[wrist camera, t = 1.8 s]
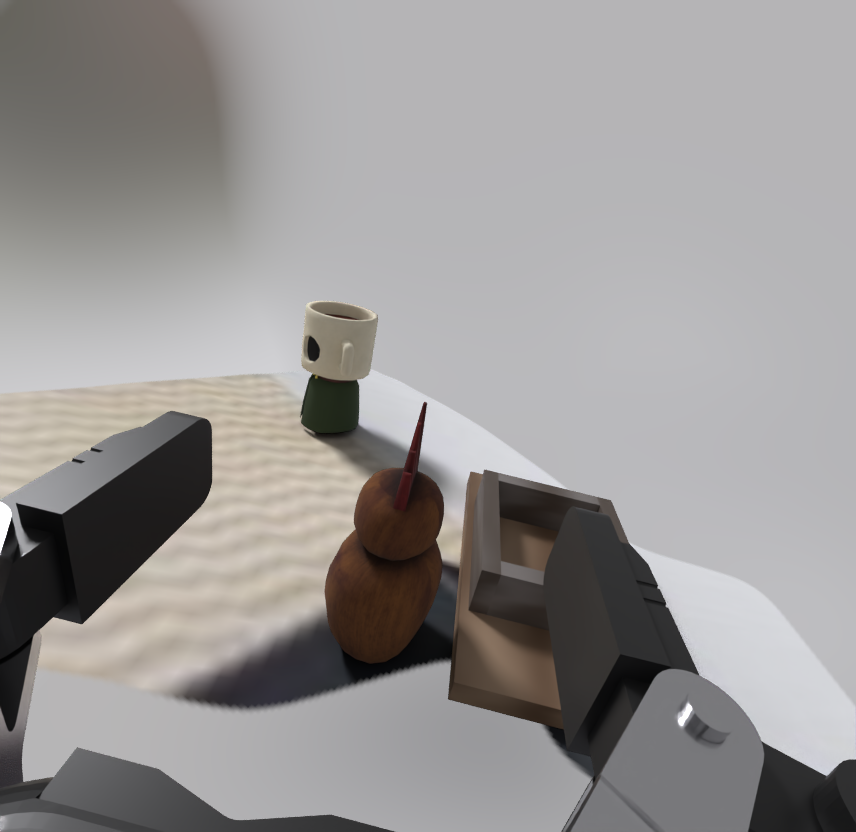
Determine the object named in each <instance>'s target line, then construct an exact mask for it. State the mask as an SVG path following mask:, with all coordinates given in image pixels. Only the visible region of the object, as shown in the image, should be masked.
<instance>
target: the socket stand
mask: <svg viewBox="0 0 856 832" xmlns="http://www.w3.org/2000/svg"><path fill="white" fill-rule="evenodd" d="M571 507H577V508H582V509H586V510H590V511H594V512H599V513H603V514H607V515H609V517H610V518H611V520H612V523H613V525H614V528H615V530H616V533H617V535H618V537H619V540H620V542H622V543H627V544H629V542H628V540H627V537H626V535H625V533H624V530H623V528H622V525H621V523H620V521H619V518H618V516H617V514H616V511H615V509H614V506H613V504H612V502H611V500H607V499H603V498H599V497H595V496H590V495H586V494H583V493H578V492H574V491H570V490H566V489H562V488H558V487H554V486H550V485H546V484H542V483H537V482H533V481H529V480H525V479H521V478H517V477H513V476H509V475H505V474H501V473H497V472H492V471H488V470H484V473H483V474H479V473H475V472H470V476H469V479H468V483H467V491H466V503H465V514H464V525H463V536H462V548H461V559H460V570H459V582H458V593H457V604H456V615H455V627H454V638H453V649H452V661H451V672H450V683H449V694H448V695H449V696H448V699H449V700H453V701H456V702H460V703H464V704H468V705H472V706H476V707H480V708H483V709H487V710H491V711H495V712H499V713H502V714H506V715H510V716H514V717H518V718H521V719H525V720H529V721H533V722H537V723H541V724H544V725H548V726H552V727H556V728H560V729H563V730H564V727H563V720H562V713H561V706H560V700H559V693H558V686H557V679H556V672H555V665H554V659H553V652H552V645H551V638H550V631H549V625H548V618H547V611H546V604H545V597H544V590H543V580H544V572H545V567H546V563H547V560H548V558H549V555H550V553H551V550H552V548H553V545H554V543H555V540H556V538H557V535H558V533H559V530H560V528H561V525H562V523H563V520H564V518H565V515H566V513H567V511H568V510H569V509H570V508H571Z"/></svg>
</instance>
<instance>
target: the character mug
mask: <svg viewBox="0 0 856 832" xmlns="http://www.w3.org/2000/svg"><path fill="white" fill-rule="evenodd" d="M377 322H378V315H377V314H375V313H374V312H373V311H371V310H368V309H366V308H363V307H360V306H356V305H352V304H348V303H342V302H333V301H314V302H310V303H308V304H307V305H306V312H305V323H304V324H305V325H304V333H303V342H302V360H301V361H302V366H303V368H305V369H306V370H307V371H309V372H311V373H313V374H312V375H311V377H310V378H309V381H308V385H307V388H306V392H305V396H304V400H303V405H302V410H301V415H302V414H303V415H302V420H301V423H302V424H303V425H304V426H305V427H307V428H308V429H310V430H313V431H316V432H319V433H336V432H346V431H349V430H352V429H355V428H356V427H357V425H358V420H359V385H358V382H357V380H358V379H363V378H365V377H366V376H367V375H369V372H370V367H371V361H372V355H373V348H374V342H375V336H376V335H375V334H376V329H377ZM301 415H300V418H301Z"/></svg>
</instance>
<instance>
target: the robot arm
mask: <svg viewBox="0 0 856 832" xmlns="http://www.w3.org/2000/svg"><path fill="white" fill-rule="evenodd" d="M211 484H212V428H211V424H210V422H209V421H208V420H207V419H205V418H200V417H196V416H192V415H188V414H183V413H179V412H175V411H170V412H167V413H165V414H164V415H162V416H160V417H159V418H157V419H155V420H154V421H152V422H150V423H149V424H147V425H145V426H144V427H138V428H135V429H132V430H128V431H125V432H122V433H118V434H115V435H112V436H111V437H109V438H107V439H105V440H104V441H102V442H100V443H98V444H97V445H95V446H93V447H91V450H90V451H88V450H86V451H84V452H83V453H81V454H79V455H77V456H76V457H74V458H73V460H72V461H71V462H70V461H67V462H65V463H64V464H62V465H60V466H58V467H57V468H55V469H53V470H51V471H50V472H48V473H46V474H44V475H43V476H41V477H39V478H37V479H36V480H34V481H32V482H30V483H29V484H27V485H25V486H23V487H22V488H20V489H18V490H16V491H15V492H13V493H11V494H9V495H8V496H6V497H4V498H2V499H1V500H0V832H394V831H390V830H387V829H383V828H379V827H375V826H371V825H368V824H364V823H360V822H356V821H353V820H349V819H345V818H341V817H338V816H334V815H319V816H305V817H288V818H273V819H258V820H233V819H229V818H227V817H226V816H224V815H222V814H221V813H220V812H218V811H217V810H215V809H214V808H213V807H211V806H210V805H208V804H207V803H205V802H204V801H202V800H201V799H200V798H198V797H197V796H196V795H194V794H193V793H191V792H190V791H189V790H187V789H186V788H184V787H183V786H182V785H180V784H179V783H177V782H176V781H174V780H173V779H172V778H170V777H169V776H168V775H166V774H165V773H163V772H162V771H161V770H159V769H156V768H152V767H149V766H145V765H141V764H137V763H133V762H130V761H126V760H122V759H118V758H115V757H111V756H107V755H103V754H99V753H96V752H92V751H88V750H85V749H81V748H76V750H75V751H74V752H73V754H72V755H71V756H70V757H69V759H68V760H67V761H66V762H65V764H64V765H63V766H62V767H61V769H60V770H59V771H58V773H57V774H56V775H55V777H51V778H44V779H39V780H33V781H27V782H23V773H22V749H23V741H24V734H25V730H26V724H27V719H28V713H29V708H30V702H31V696H32V691H33V686H34V680H35V675H36V669H37V664H38V658H39V653H40V647H41V634H40V629H41V628H42V627H43V626H44V625H45V624H46V623H47V622H48V621H50V620H51V619H52V618H53V617H55V618H59V619H63V620H67V621H71V622H75V623H79V624H83V623H84V622H85V621H86V620H87V619H88V618H89V617H90V616H91V615H92V614H93V613H94V612H95V611H96V610H97V609H98V608H99V607H100V606H101V605H102V604H103V603H104V602H105V601H106V600H107V599H108V598H109V597H110V596H111V595H112V594H113V593H114V592H115V591H116V590H117V589H118V588H119V587H120V586H121V585H122V584H123V583H124V582H125V581H126V580H127V579H128V578H129V577H130V576H131V575H132V574H133V573H134V572H135V571H136V570H137V569H138V568H139V567H140V566H141V565H142V564H143V563H144V562H145V561H146V560H147V559H148V558H149V557H150V556H151V555H152V554H153V553H154V552H155V551H156V550H158V549H159V548H160V547H161V546H162V545H163V544H164V543H165V542H166V541H167V540H168V539H169V538H170V537H171V536H172V535H173V534H174V533H175V532H176V531H177V530H178V529H179V528H180V527H181V526H182V525H183V524H184V523H185V522H186V521H187V520H188V519H189V518H190V517H191V516H192V515H193V514H194V513H195V512H196V511H197V510H198V509H199V508H200V507H201V506H202V504H203V503H204V502H205V500H206V498H207V496H208V494H209V491H210V488H211ZM657 586H658V585H657V582H656V580H655V578H654V576H653V574H652V572H651V569H650V567H649V565H648V564H647V563H646V561H645V560H644V559H643V558H642V557H641V556H640V555H639V554H638V553H637V552H636V550H635V549H634V548H633V547H632V546H631V545H630V544H627V543H622V542H620V540H619V537H618V535H617V533H616V530H615V528H614V525H613V523H612V520H611V518H610V517H609V515H607V514H603V513H599V512H594V511H590V510H586V509H582V508H577V507H571V508H570V509H569V510H568V511H567V513H566V515H565V518H564V520H563V523H562V525H561V528H560V530H559V533H558V535H557V538H556V540H555V543H554V545H553V548H552V550H551V553H550V555H549V558H548V560H547V563H546V567H545V572H544V580H543V590H544V597H545V604H546V611H547V618H548V625H549V631H550V638H551V645H552V652H553V659H554V665H555V672H556V679H557V686H558V693H559V700H560V706H561V713H562V720H563V727H564V734H565V740H566V747H567V751H571V752H575V753H579V754H583V755H587V756H591V759H592V764H593V770H594V777H593V778H592V780H591V781H590V783H589V785H588V786H587V788H586V790H585V792H584V793H583V795H582V797H581V799H580V800H579V802H578V804H577V806H576V808H575V809H574V811H573V812H572V814H571V816H570V818H569V819H568V821H567V823H566V825H565V826H564V828H563V830H562V832H856V760H846V761H843V762H842V763H840V764H839V765H838V766H837V767H836V768H835V769H834V770H833V771H832V772H831V773H830V774H829V775H828V776H825V775H823V774H821V773H819V772H818V771H816V770H814V769H812V768H810V767H808V766H806V765H804V764H802V763H801V762H799V761H797V760H795V759H793V758H791V757H789V756H787V755H785V754H784V753H782V752H780V751H778V750H776V749H774V748H772V747H770V746H769V745H767V744H765V743H763V742H762V741H761V739H760V736H759V734H758V732H757V730H756V728H755V726H754V725H753V723H752V722H751V720H750V719H749V717H748V716H747V715H746V713H745V712H744V711H743V710H742V708H741V707H740V706H739V705H738V704H737V703H736V702H735V701H734V700H733V699H732V698H731V697H730V696H729V695H728V694H726V693H725V692H724V691H723V690H721V689H720V688H719V687H718V686H716V685H715V684H713V683H711V682H710V681H708V680H707V679H705V678H703V677H701V676H699V673H698V671H697V669H696V667H695V665H694V663H693V660H692V658H691V656H690V654H689V652H688V650H687V647H686V645H685V643H684V641H683V639H682V637H681V634H680V632H679V630H678V628H677V626H676V624H675V621H674V619H673V617H672V615H671V613H670V611H669V608H667V607H666V602H665V600H664V598H663V595H662V593H661V591H660V590H659V589H657Z"/></svg>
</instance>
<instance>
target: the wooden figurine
mask: <svg viewBox="0 0 856 832" xmlns="http://www.w3.org/2000/svg"><path fill="white" fill-rule="evenodd" d="M426 407H427V403H426V402H424V403H423V406H422V410H421V413H420V416H419V420H418V423H417V427H416V430H415V433H414V437H413V440H412V443H411V447H410V450H409V453H408V457H407V460H406V463H405V467H404V468H389V469H384V470H381V471H379V472H377V473H375V474H374V475H373V476H372V477H371V478H370V479H369V480H368V481H367V482H366V483H365V484H364V486H363V488H362V490H361V492H360V494H359V497H358V500H357V504H356V508H355V513H354V525H355V528H356V529H355V530H354V531H353V532H352V533H351V534H350V535H349V536H348V537H347V539H346V540H345V541H344V542H343V543H342V545H341V547H340V549H339V551H338V553H337V555H336V556H335V558H334V560H333V562H332V563H331V565H330V567H329V571H328V574H327V578H326V585H325V599H326V608H327V617H328V623H329V626H330V630H331V632H332V634H333V635H334V637H335V639H336V640H337V642H338V643H339V645H340V646H341V648H342V649H343V651H344V652H346V653H347V654H349V655H350V656H352V657H353V658H355V659H357V660H360V661H363V662H367V663H370V664H372V663H380V662H386V661H388V660H389V659H391V658H393V657H395V656H396V655H398V654H399V653H400V652H401V651H402V650H403V649H404V648H405V647H406V646H407V645H408V644H409V642H410V641H411V640H412V638H413V637H414V635H415V634H416V632H417V631H418V630H419V628H420V626H421V625H422V623H423V621H424V620H425V618H426V616H427V614H428V612H429V610H430V608H431V606H432V604H433V601H434V598H435V595H436V593H437V590H438V586H439V583H440V580H441V574H442V559H441V554H440V550H439V547H438V544H437V542H436V538H437V536H438V534H439V532H440V529H441V526H442V521H443V516H444V502H443V496H442V493H441V491H440V489H439V487H438V486H437V484H436V483H435V482H434V481H433V480H432V479H431V478H430V477H428V476H427V475H425V474H423V473H420V472H418V471H417V470H418V463H419V456H420V449H421V442H422V435H423V428H424V421H425V414H426Z"/></svg>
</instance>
